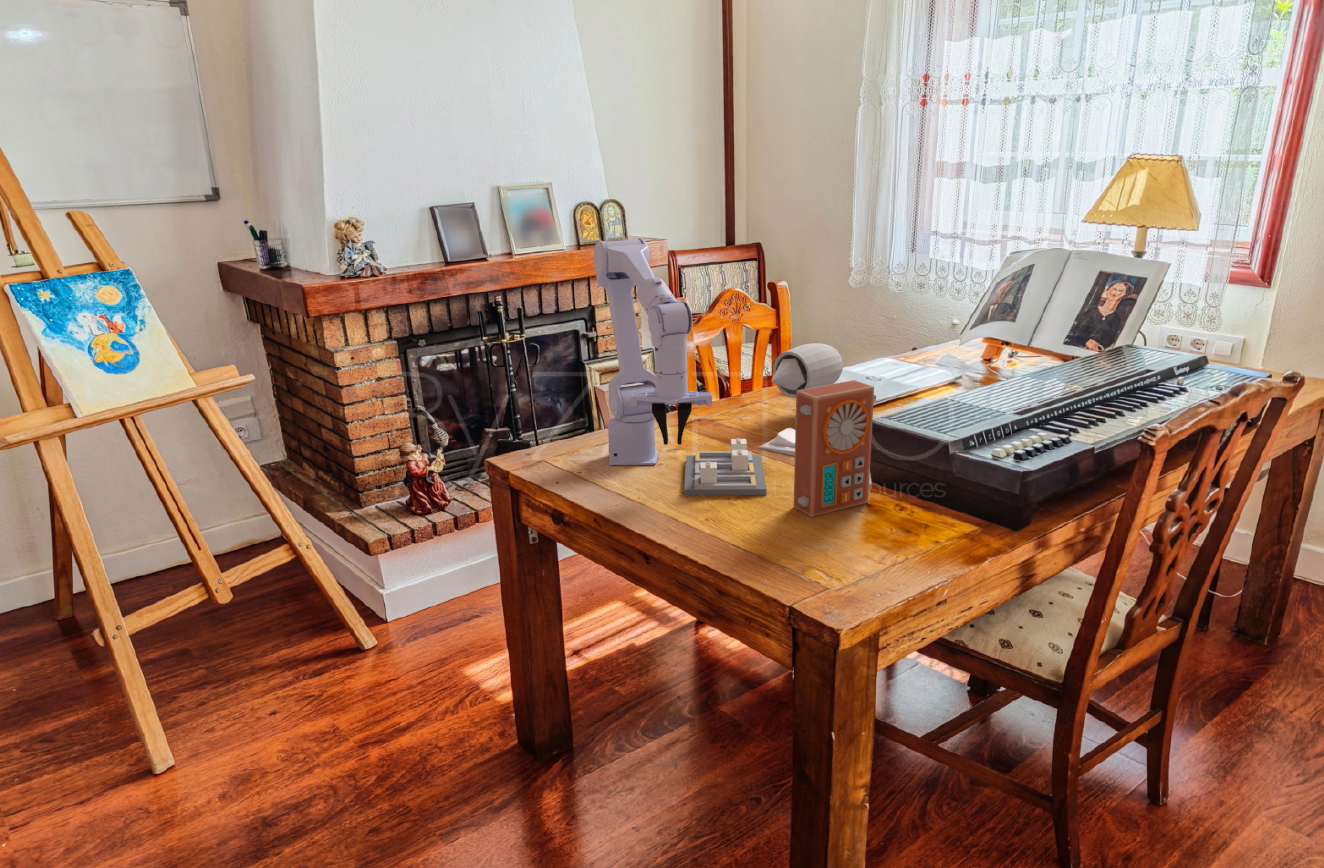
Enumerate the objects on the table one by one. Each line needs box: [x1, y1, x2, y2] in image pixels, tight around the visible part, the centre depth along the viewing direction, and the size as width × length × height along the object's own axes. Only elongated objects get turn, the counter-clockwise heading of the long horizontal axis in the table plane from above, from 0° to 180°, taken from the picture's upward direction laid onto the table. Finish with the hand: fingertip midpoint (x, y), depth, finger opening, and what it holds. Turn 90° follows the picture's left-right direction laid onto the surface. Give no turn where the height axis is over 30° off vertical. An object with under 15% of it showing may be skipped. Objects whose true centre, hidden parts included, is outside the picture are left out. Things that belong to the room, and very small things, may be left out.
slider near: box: [700, 461, 717, 484], centre depth 161 cm, size 3×3×4 cm
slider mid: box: [732, 449, 749, 471], centre depth 167 cm, size 3×3×4 cm
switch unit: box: [683, 450, 768, 496], centre depth 168 cm, size 15×18×2 cm
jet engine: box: [770, 342, 844, 399], centre depth 198 cm, size 15×20×18 cm
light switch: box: [758, 427, 795, 457], centre depth 183 cm, size 11×4×13 cm
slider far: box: [730, 437, 748, 459], centre depth 173 cm, size 3×3×4 cm
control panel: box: [793, 379, 877, 518], centre depth 151 cm, size 21×7×15 cm
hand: (672, 442), depth 159 cm, fingers closed
